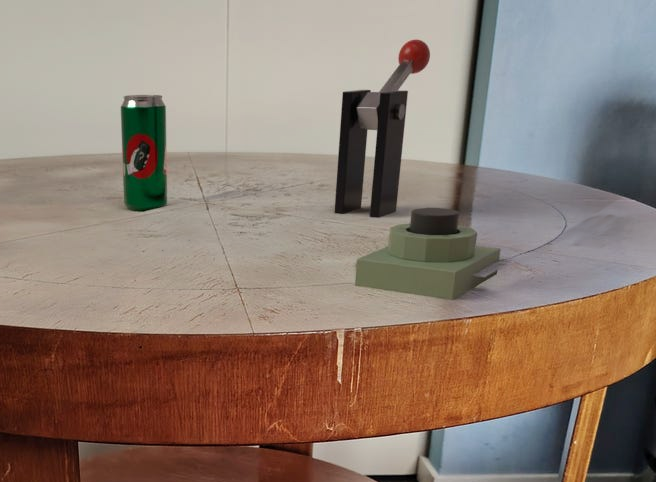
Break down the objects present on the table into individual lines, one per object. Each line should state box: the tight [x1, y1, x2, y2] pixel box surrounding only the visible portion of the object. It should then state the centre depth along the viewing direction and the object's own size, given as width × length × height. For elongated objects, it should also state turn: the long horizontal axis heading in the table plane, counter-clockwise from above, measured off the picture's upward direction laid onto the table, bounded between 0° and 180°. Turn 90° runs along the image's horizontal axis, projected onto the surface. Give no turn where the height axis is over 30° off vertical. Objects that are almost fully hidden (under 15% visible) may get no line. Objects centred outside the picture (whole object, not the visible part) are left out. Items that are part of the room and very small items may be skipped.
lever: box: [357, 39, 431, 131], centre depth 92 cm, size 13×3×3 cm, turn 145°
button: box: [409, 207, 460, 235], centre depth 70 cm, size 4×4×2 cm
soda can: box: [120, 94, 168, 212], centre depth 103 cm, size 5×5×12 cm
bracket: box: [334, 89, 409, 219], centre depth 92 cm, size 9×11×13 cm
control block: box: [354, 222, 501, 301], centre depth 72 cm, size 8×10×4 cm
